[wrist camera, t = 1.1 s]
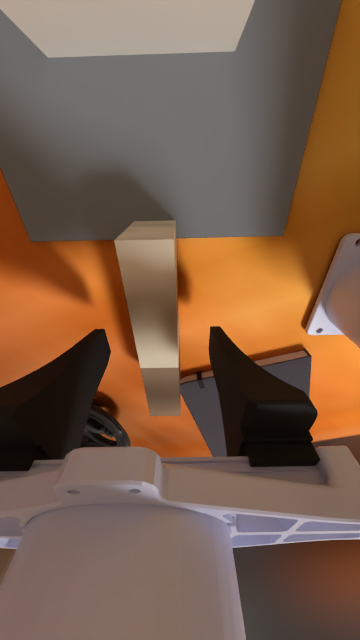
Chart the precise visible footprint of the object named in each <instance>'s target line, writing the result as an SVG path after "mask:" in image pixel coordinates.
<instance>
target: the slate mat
mask: <svg viewBox="0 0 360 640" xmlns="http://www.w3.org/2000/svg"><path fill="white" fill-rule="evenodd" d="M341 1H342V0H255V2H254V4H253V7H252V9H251V12H250V14H249V17H248V19H247V22H246V24H245V27H244V29H243V32H242V35H241V37H240V40H239V42H238V45H237V47H236V50H235V51H230V52H200V53H171V54H141V55H111V56H82V57H52V58H48V57H47V56H46V55H45V54H44V53H43V52H42V51H41V50H40V49H39V48H38V47H37V46H36V45H35V44H34V43H33V42H32V41H31V40H30V39H29V38H28V37H27V36H26V35H25V34H24V33H23V32H22V31H21V30H20V29H19V28H18V27H17V26H16V25H15V24H14V23H13V22H12V21H11V20H10V19H9V18H8V17H7V16H6V15H5V14H4V12H3V11H2V10H1V9H0V168H1V171H2V173H3V175H4V178H5V180H6V183H7V185H8V187H9V190H10V192H11V195H12V197H13V200H14V202H15V204H16V207H17V209H18V212H19V214H20V216H21V219H22V221H23V224H24V226H25V228H26V231H27V233H28V236H29V238H30V241H31V242H37V241H80V240H115V239H116V238H117V237H118V236H119V235H120V234H121V233H122V232H123V231H125V230H126V229H127V228H128V227H129V226H130V225H131V224H132V223H133V222H134V221H168V220H176V238H209V237H252V236H283V235H284V231H285V227H286V223H287V219H288V215H289V211H290V207H291V203H292V199H293V195H294V191H295V186H296V182H297V178H298V174H299V170H300V166H301V162H302V158H303V154H304V150H305V146H306V142H307V138H308V134H309V130H310V126H311V122H312V118H313V114H314V110H315V106H316V102H317V98H318V94H319V90H320V86H321V82H322V78H323V74H324V70H325V66H326V62H327V58H328V54H329V50H330V46H331V42H332V38H333V34H334V30H335V25H336V21H337V17H338V13H339V9H340V5H341Z"/></svg>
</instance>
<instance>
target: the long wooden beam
mask: <svg viewBox="0 0 360 640" xmlns="http://www.w3.org/2000/svg"><path fill="white" fill-rule="evenodd" d="M114 243H115V248H116V253H117V257H118V262H119V267H120V272H121V277H122V281H123V286H124V291H125V296H126V301H127V306H128V310H129V315H130V320H131V325H132V330H133V334H134V339H135V344H136V349H137V354H138V358H139V363H140V368H141V373H142V378H143V383H144V387H145V392H146V397H147V402H148V407H149V411H150V416H180V348H179V316H178V283H177V250H176V220H168V221H134V222H133V223H132V224H131V225H130V226H129V227H128V228H127V229H126V230H125V231H123V232H122V233H121V234H120V235H119V236H118V237H117V238H116V239H115V240H114Z"/></svg>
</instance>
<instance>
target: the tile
mask: <svg viewBox="0 0 360 640" xmlns="http://www.w3.org/2000/svg"><path fill="white" fill-rule="evenodd" d="M254 2H255V0H0V9H1V10H2V11H3V12H4V14H5V15H6V16H7V17H8V18H9V19H10V20H11V21H12V22H13V23H14V24H15V25H16V26H17V27H18V28H19V29H20V30H21V31H22V32H23V33H24V34H25V35H26V36H27V37H28V38H29V39H30V40H31V41H32V42H33V43H34V44H35V45H36V46H37V47H38V48H39V49H40V50H41V51H42V52H43V53H44V54H45V55H46V56H47V57H48V58H52V57H82V56H111V55H141V54H171V53H200V52H230V51H235V50H236V47H237V45H238V42H239V40H240V37H241V35H242V32H243V29H244V27H245V24H246V22H247V19H248V17H249V14H250V12H251V9H252V7H253V4H254Z"/></svg>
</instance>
